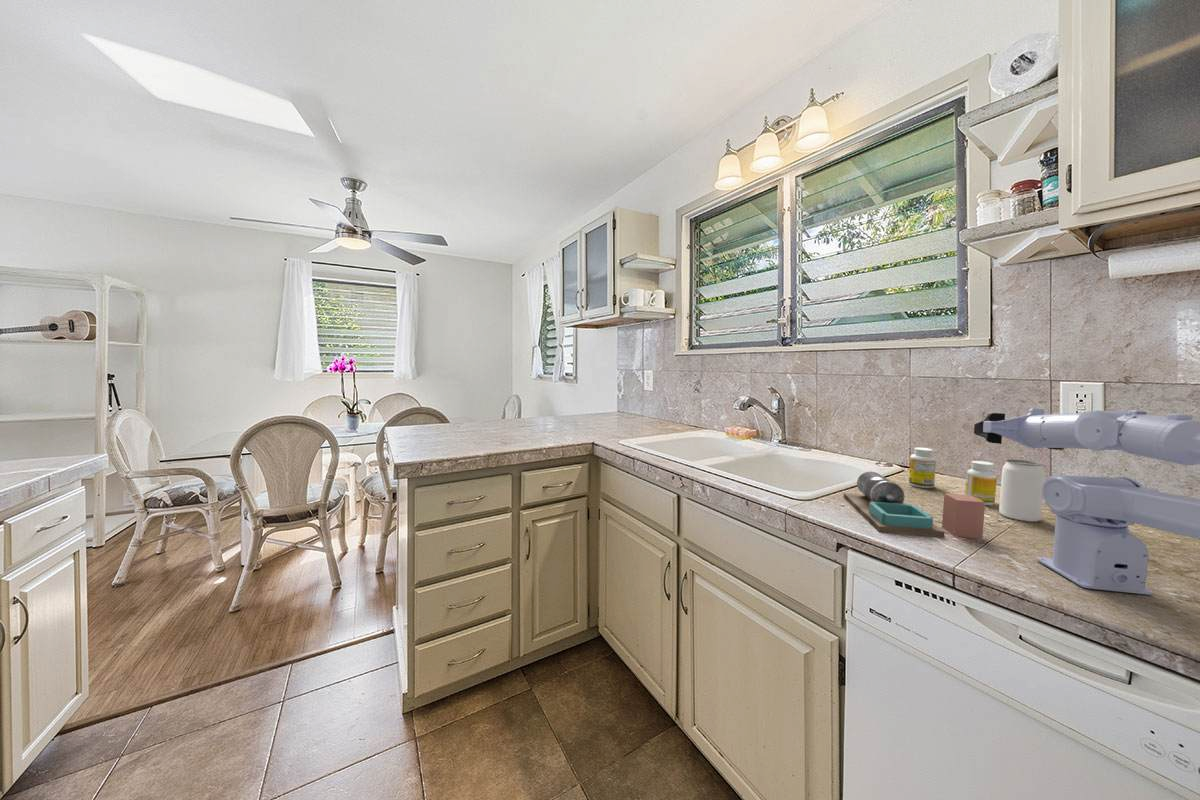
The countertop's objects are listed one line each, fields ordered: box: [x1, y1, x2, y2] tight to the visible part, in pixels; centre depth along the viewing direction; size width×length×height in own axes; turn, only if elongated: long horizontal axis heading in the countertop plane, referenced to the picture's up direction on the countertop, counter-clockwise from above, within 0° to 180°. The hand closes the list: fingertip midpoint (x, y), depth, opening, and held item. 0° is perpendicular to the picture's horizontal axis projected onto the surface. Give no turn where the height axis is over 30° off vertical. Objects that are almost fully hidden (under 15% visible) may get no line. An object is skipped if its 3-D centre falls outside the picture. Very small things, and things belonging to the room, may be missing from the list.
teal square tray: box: [869, 501, 934, 529], centre depth 87 cm, size 9×9×2 cm
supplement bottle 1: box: [908, 447, 937, 489], centre depth 114 cm, size 6×6×10 cm
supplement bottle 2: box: [964, 460, 998, 506], centre depth 101 cm, size 5×5×10 cm
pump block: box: [941, 493, 986, 539], centre depth 82 cm, size 4×4×7 cm
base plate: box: [843, 492, 946, 538], centre depth 93 cm, size 22×11×1 cm, turn 166°
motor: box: [856, 471, 906, 504], centre depth 97 cm, size 12×6×6 cm, turn 166°
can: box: [998, 459, 1046, 523], centre depth 91 cm, size 6×6×12 cm
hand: (997, 431), depth 84 cm, fingers open, 7 cm apart
